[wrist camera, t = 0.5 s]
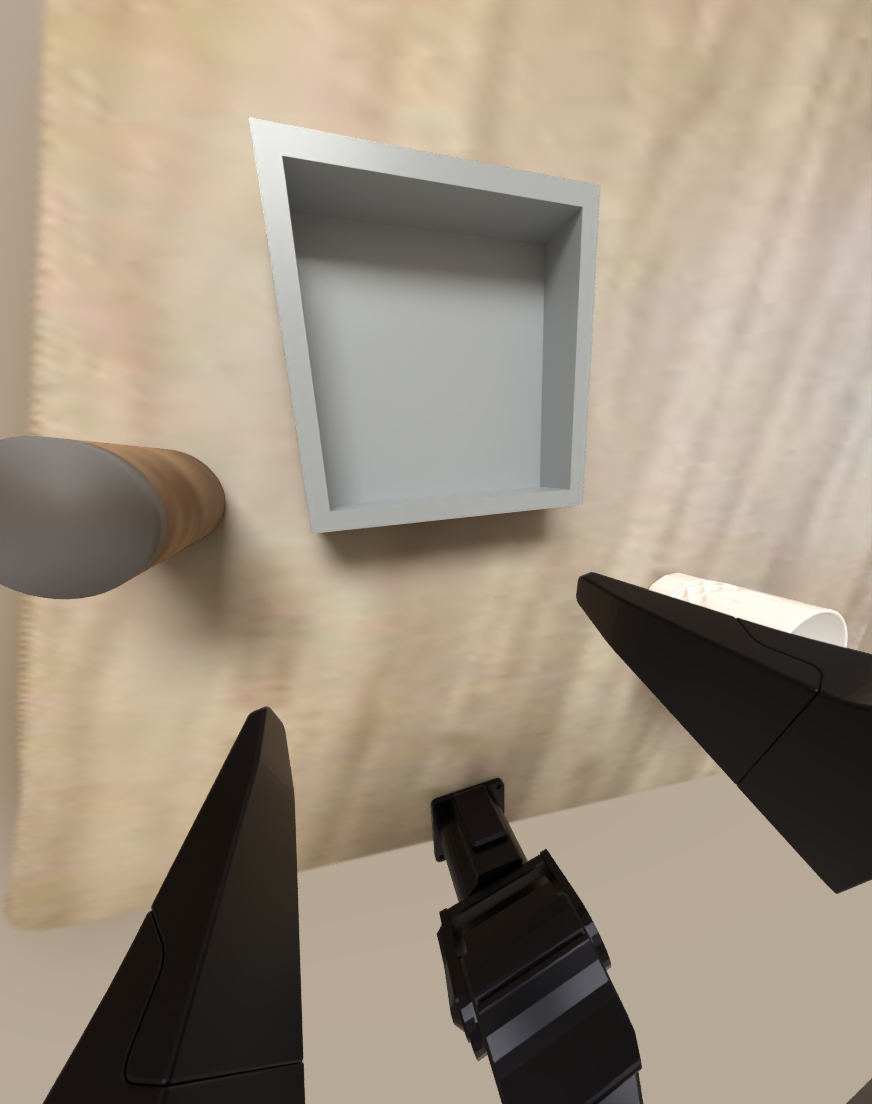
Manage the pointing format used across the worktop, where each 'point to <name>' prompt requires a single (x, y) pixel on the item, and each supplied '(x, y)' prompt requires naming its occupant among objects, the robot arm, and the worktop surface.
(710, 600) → the white cup
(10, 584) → the spice jar
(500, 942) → the robot arm
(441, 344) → the bin
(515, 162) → the worktop surface
